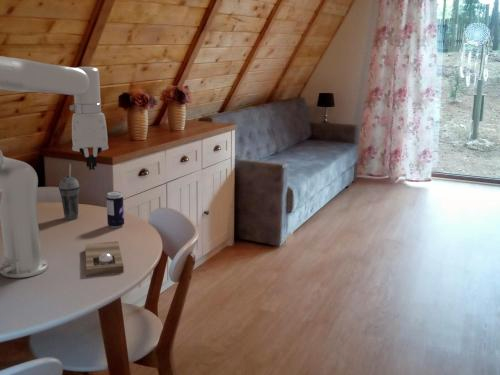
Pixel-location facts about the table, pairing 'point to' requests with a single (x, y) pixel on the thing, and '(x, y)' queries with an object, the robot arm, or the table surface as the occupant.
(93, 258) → the slotted wooden board
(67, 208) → the beverage cup
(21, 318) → the table surface
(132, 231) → the table surface
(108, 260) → the steel ball
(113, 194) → the beverage can
